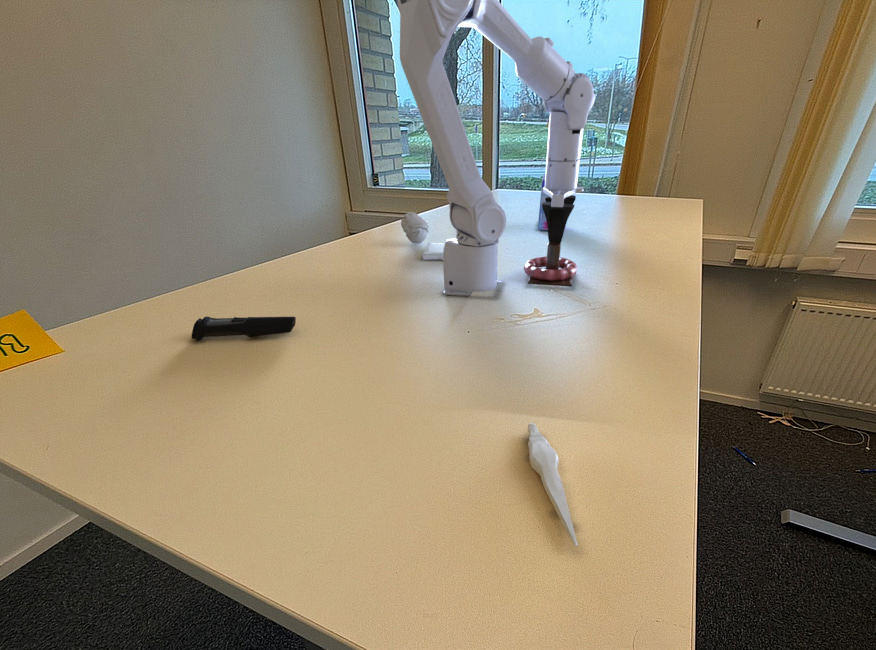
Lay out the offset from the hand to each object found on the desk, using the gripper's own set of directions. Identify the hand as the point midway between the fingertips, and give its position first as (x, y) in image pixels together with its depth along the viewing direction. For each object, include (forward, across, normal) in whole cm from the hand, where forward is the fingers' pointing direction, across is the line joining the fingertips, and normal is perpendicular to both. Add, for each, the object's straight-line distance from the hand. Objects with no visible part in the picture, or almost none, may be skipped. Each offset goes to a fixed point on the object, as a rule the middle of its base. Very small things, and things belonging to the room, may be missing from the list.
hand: (555, 239), depth 84 cm
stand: (+7, -4, 0) cm, 8 cm away
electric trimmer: (+7, -36, +44) cm, 57 cm away
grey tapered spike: (+7, -58, -4) cm, 59 cm away
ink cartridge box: (+7, +38, +4) cm, 39 cm away
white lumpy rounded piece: (+2, +16, +34) cm, 38 cm away
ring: (+5, -3, 0) cm, 5 cm away
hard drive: (+7, +9, +23) cm, 26 cm away
